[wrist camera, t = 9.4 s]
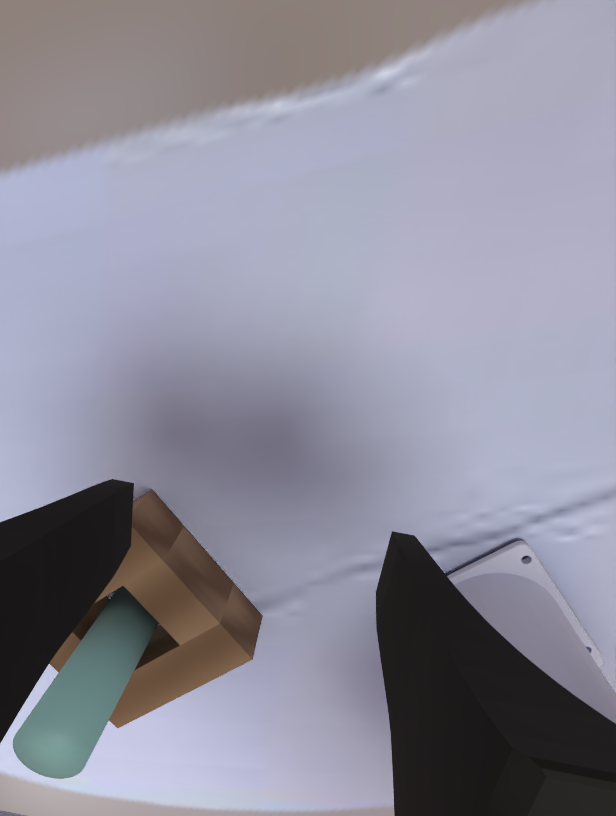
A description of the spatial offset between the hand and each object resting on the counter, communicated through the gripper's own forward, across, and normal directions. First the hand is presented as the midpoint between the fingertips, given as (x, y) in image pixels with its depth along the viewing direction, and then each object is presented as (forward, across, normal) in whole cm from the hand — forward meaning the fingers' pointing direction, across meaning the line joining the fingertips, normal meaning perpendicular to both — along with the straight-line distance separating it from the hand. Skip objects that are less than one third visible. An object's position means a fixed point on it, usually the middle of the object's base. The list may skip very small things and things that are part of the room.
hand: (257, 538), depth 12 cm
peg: (+10, +7, +13) cm, 18 cm away
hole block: (+10, +7, +13) cm, 18 cm away
